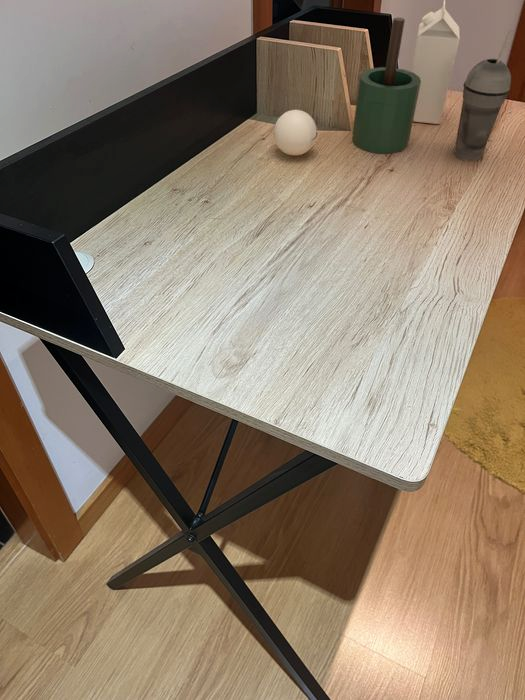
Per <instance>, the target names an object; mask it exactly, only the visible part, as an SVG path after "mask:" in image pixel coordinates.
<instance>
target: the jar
mask: <svg viewBox="0 0 525 700" xmlns="http://www.w3.org/2000/svg"><path fill="white" fill-rule="evenodd" d="M385 69H386V66H379V67H372V68H369V69H366V70H363V71H362V72H361V73H360V74H359V79H358V87H357V96H356V104H355V112H354V117H353V119H354V120H353V127H352V139H351V141H352V143H353V145H354V146H356V147H357V148H358V149H360V150H363V151H364V152H368V153H374V154H378V155H379V154H380V155H384V154H385V155H388V154H396V153H399V152H402V151H404V150H405V149H407V147H408V145H409V141H410V137H411V135H412V134H411V133H412V129H413V124H414V121H413V119H414V114H415V109H416V104H417V99H418V94H419V89H420V84H421V80H420V77H419V76H417V75H416V74H414V73H413V72H411V70H406V69H403V68H398V67H397V69H396V75H395V81H394V86H385V85H383V82H384V75H385Z"/></svg>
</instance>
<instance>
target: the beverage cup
mask: <svg viewBox="0 0 525 700" xmlns="http://www.w3.org/2000/svg"><path fill="white" fill-rule="evenodd" d="M512 34H513V30H512V29H508V32H507V34H506V37H505V39H504V42H503V45H502V47H501V50H500V52H499V54H498V57H497V59H496V58H487V59H484V60H481V61H479V62H478V63H476V64H475V65H474V66H473V67H472V68H471V69H470V71H469V72H468V74H467V76H466V79H465V81H464V83H463V90H462V105H461V111H460V115H459V116H460V117H459V121H458V127H457V134H456V139H455V140H456V141H455V147H454V156H455V157H456V158H458V159H460V160H462V161H466V162H467V161H468V162H475V161H478V160H480V159H481V158H482V155H483V152H484V151H485V149H486V146H487V144H488V142H489V139H490V136H491V133H492V131H493V128H494V126H495V124H496V121H497V118H498V116H499V113H500V111H501V108H502V106H503V104H504V103H505V101H506V99H507V96H508V94H509V93H510V92H511V83H512V75H511V72H510V69H509V67H508V66H507V65H506V63H505V62H504V61H502V58H503V56H504V53H505V50H506V48H507V46H508V43H509V41H510V38H511V37H512Z"/></svg>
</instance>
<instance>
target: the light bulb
mask: <svg viewBox="0 0 525 700" xmlns="http://www.w3.org/2000/svg"><path fill="white" fill-rule="evenodd" d="M317 136H318V131H317V125H316V123H315V120H314V118H313V117H312V116H311V115H310V114H309V113H307V111H303V110H300V109H291V110H288V111H286V112H284V113H283V114H282V115H280V116H279V117H278V119H277V121H276V122H275V125H274V129H273V140H274V142H275V144H276V145H277V148H278V149H279V150H280V151H282V153H284V154H286V155H289V156H293V157H295V156H301V155H305V154H306V153H307V152H308V151H310V150H311V149H312V147H313V146H314V144H315V143H316V139H317Z"/></svg>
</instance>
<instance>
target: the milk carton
mask: <svg viewBox="0 0 525 700" xmlns="http://www.w3.org/2000/svg"><path fill="white" fill-rule="evenodd" d="M460 39H461V38H460V26H459V25H458V24H457V22H456V21H455V20H454V19H453V17H452V16H451V15H450V13H449V12H448V11H447V10H446V0H443V3H442V7H441V8H439V9H438V10H437V11H435V12H434V11H429V12H428V13H426V14H425V15H424V16H422V18H421V22H420V24H418V29H417V35H416V40H415V45H414V51H413V57H412V61H411V66H410V67H411V68H410V72H413V73H414V74H416V75H417V76H419V77H420V80H421V84H420V89H419V94H418V99H417V104H416V109H415V114H414V119H413V123H414V122H415V123H423V124H433V125H440V124H441V121H442V116H443V112H444V107H445V103H446V99H447V95H448V91H449V86H450V82H451V78H452V74H453V69H454V65H455V61H456V56H457V54H458V53H457V52H458V49H459V44H460Z"/></svg>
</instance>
